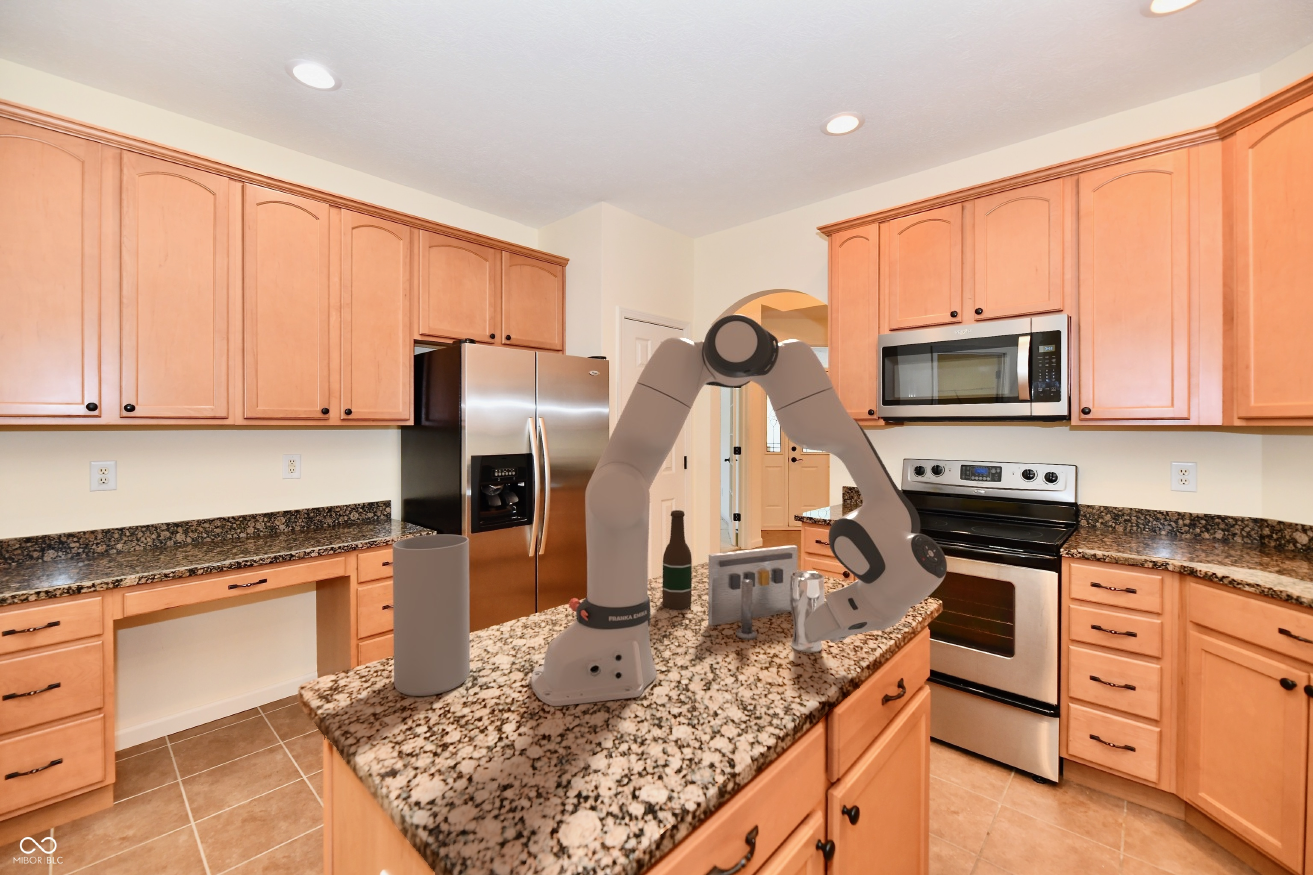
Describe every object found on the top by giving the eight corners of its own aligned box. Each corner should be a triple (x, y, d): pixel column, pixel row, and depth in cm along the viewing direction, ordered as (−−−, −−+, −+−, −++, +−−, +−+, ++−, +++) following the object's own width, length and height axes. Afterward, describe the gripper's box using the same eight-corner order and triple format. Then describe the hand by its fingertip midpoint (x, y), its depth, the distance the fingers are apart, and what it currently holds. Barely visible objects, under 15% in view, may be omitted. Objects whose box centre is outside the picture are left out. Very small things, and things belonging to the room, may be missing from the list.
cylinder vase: (484, 675, 100) (483, 539, 99) (422, 705, 89) (421, 553, 89) (441, 659, 107) (440, 531, 106) (379, 685, 96) (377, 543, 96)
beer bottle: (657, 601, 142) (658, 509, 141) (686, 599, 144) (686, 508, 143) (667, 611, 134) (667, 514, 134) (697, 608, 137) (697, 512, 136)
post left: (743, 640, 116) (744, 584, 116) (732, 633, 120) (732, 579, 120) (761, 637, 118) (761, 582, 118) (749, 630, 122) (749, 577, 122)
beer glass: (810, 657, 109) (811, 581, 108) (782, 645, 114) (782, 574, 113) (830, 647, 113) (831, 575, 113) (802, 637, 118) (803, 568, 118)
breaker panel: (713, 627, 124) (714, 556, 124) (708, 623, 127) (708, 554, 126) (799, 612, 134) (800, 547, 134) (792, 609, 136) (793, 545, 136)
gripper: (907, 579, 103) (867, 614, 112) (821, 593, 94) (785, 630, 104) (927, 611, 99) (884, 644, 108) (839, 628, 90) (800, 662, 100)
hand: (834, 637), depth 106 cm, fingers closed
